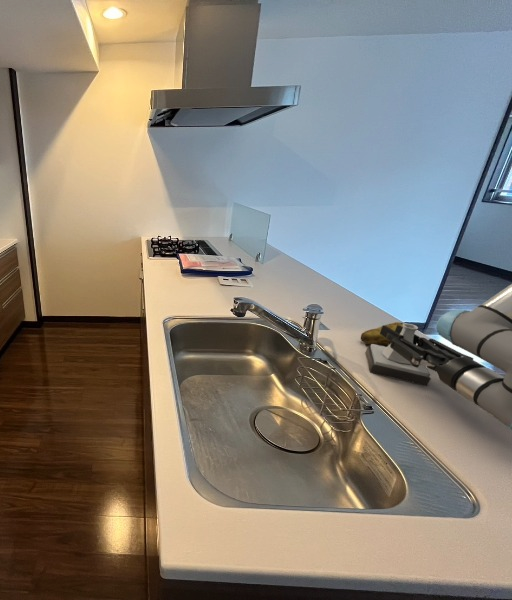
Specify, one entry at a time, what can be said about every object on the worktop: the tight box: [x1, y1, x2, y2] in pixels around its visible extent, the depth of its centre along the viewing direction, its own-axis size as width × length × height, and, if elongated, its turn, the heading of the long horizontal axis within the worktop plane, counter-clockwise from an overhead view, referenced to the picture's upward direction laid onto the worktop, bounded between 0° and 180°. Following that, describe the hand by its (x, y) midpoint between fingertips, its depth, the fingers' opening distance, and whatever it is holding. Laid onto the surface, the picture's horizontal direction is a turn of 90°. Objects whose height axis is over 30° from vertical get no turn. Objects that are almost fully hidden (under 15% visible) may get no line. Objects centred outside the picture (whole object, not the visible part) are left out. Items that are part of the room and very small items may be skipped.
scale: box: [365, 344, 432, 387], centre depth 90 cm, size 13×12×4 cm
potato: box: [360, 322, 404, 346], centre depth 100 cm, size 8×13×8 cm, turn 62°
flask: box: [382, 322, 419, 364], centre depth 87 cm, size 7×7×10 cm
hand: (389, 329), depth 92 cm, fingers closed on flask, 3 cm apart
